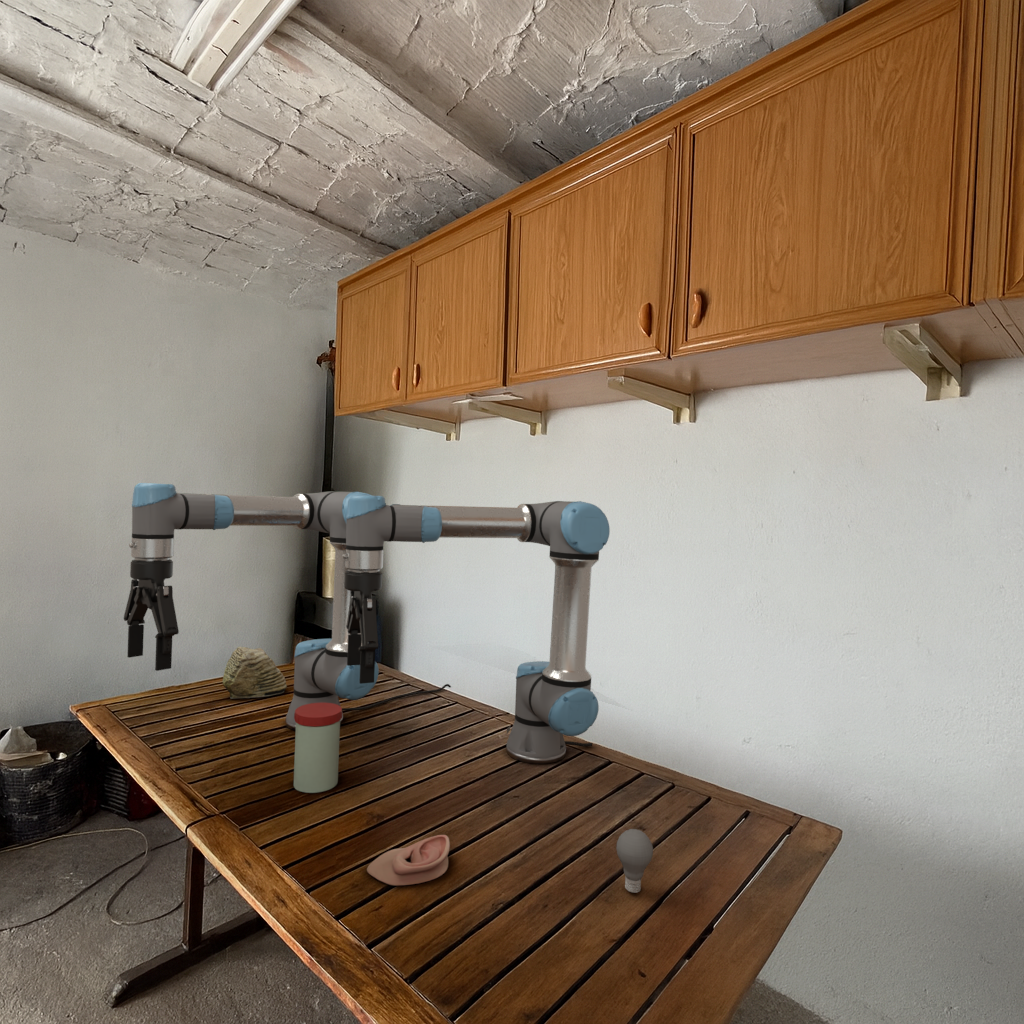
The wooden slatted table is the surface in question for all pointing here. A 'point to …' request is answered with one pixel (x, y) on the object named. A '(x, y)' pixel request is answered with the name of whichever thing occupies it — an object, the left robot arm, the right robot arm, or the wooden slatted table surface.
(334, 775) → the jar
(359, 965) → the wooden slatted table surface
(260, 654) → the fossil
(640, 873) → the light bulb
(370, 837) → the wooden slatted table surface
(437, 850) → the anatomical model
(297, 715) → the lid
